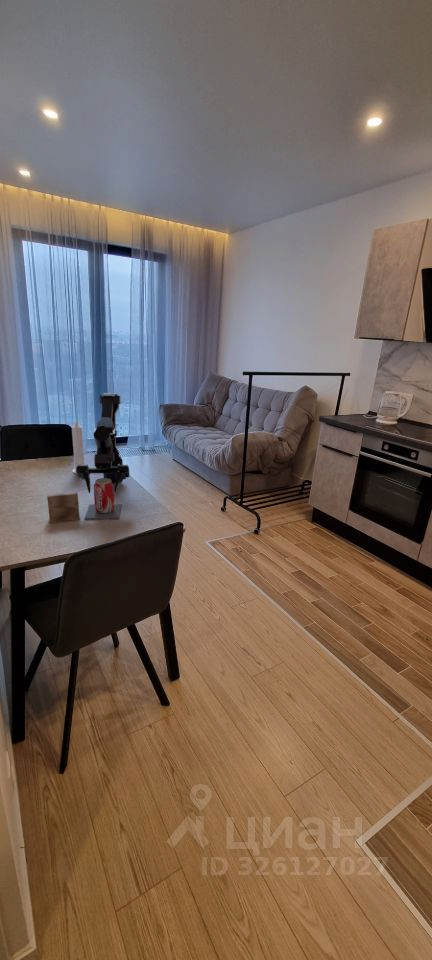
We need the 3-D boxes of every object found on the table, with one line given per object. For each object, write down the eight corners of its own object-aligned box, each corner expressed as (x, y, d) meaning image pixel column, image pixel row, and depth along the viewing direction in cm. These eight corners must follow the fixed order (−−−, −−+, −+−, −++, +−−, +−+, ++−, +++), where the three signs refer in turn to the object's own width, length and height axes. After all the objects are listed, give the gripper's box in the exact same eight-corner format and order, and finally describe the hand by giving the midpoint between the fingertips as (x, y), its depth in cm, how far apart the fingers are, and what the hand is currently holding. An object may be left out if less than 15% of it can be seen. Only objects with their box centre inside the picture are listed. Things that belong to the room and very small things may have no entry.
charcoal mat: (89, 505, 151) (89, 504, 151) (121, 505, 153) (121, 504, 153) (84, 519, 140) (84, 518, 140) (118, 519, 142) (118, 517, 142)
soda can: (115, 513, 145) (114, 483, 141) (95, 515, 143) (93, 484, 138) (113, 506, 151) (112, 476, 147) (94, 507, 149) (93, 478, 145)
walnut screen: (79, 514, 144) (77, 492, 141) (79, 519, 140) (78, 496, 137) (49, 518, 140) (47, 495, 137) (49, 523, 136) (47, 499, 133)
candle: (91, 470, 189) (87, 419, 180) (80, 475, 183) (76, 422, 174) (79, 468, 191) (76, 417, 183) (69, 472, 185) (64, 420, 177)
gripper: (74, 443, 140) (71, 483, 134) (128, 444, 143) (127, 483, 137) (80, 458, 150) (77, 495, 144) (129, 458, 153) (129, 495, 147)
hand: (102, 492), depth 143 cm, fingers open, 9 cm apart
